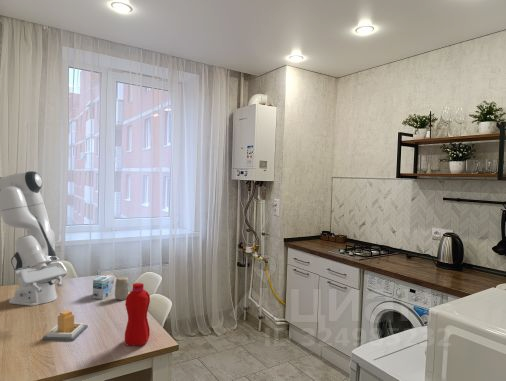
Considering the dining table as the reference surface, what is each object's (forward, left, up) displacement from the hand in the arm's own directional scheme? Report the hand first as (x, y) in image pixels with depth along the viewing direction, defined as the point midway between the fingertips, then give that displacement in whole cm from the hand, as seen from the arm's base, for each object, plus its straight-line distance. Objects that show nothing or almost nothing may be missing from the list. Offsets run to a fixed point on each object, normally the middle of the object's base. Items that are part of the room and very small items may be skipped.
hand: (50, 288), depth 156 cm
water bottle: (+43, -11, -18) cm, 48 cm away
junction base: (+10, -6, -18) cm, 21 cm away
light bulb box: (+7, +41, -18) cm, 45 cm away
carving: (+19, +37, -18) cm, 45 cm away
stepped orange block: (+10, -6, -17) cm, 21 cm away
